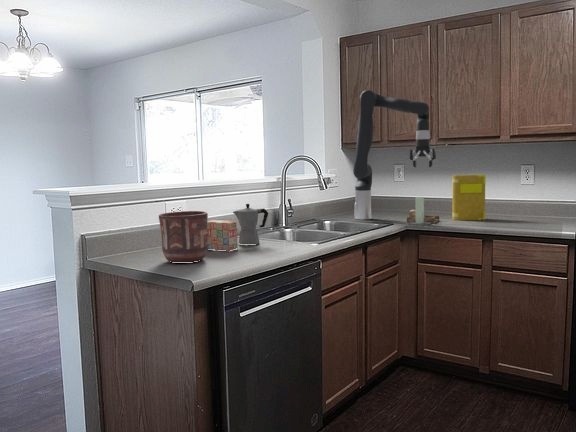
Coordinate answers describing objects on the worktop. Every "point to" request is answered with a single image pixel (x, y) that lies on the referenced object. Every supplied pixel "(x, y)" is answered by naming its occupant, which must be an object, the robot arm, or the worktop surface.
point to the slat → (419, 210)
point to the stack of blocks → (222, 235)
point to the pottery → (184, 235)
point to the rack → (426, 219)
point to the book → (468, 197)
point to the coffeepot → (249, 224)
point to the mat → (420, 224)
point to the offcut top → (412, 213)
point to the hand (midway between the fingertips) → (422, 167)
